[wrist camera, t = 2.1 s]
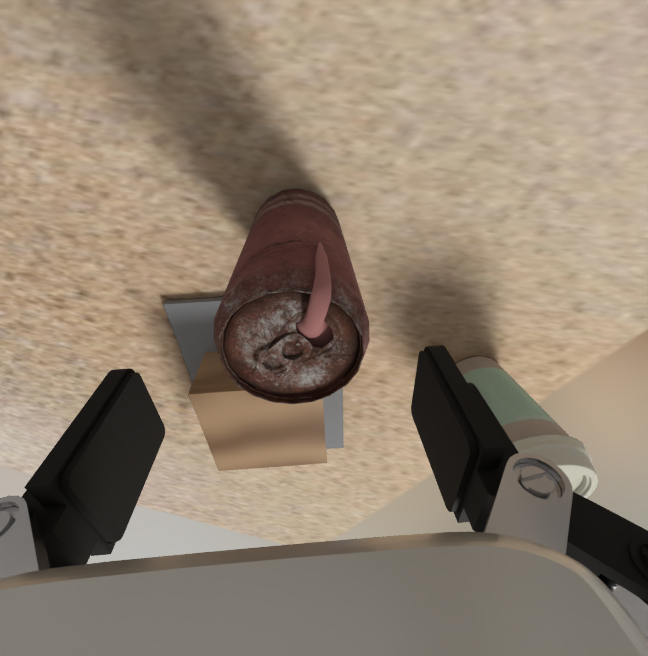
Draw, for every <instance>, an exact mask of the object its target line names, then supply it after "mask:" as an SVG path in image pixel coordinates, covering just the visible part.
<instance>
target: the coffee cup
mask: <svg viewBox="0 0 648 656" xmlns="http://www.w3.org/2000/svg"><path fill="white" fill-rule="evenodd" d="M456 365H457V367H458V369H459V370H460V372H461V374H462V375H463V377H464V378H465V380H466V382H467V383H469V382H471V383H473V384H474V385H475V386H476V387H477V389H478V390H479V392H480V393H481V395H482V396H483V398H484V399H485V401H486V403H487V404H488V406H489V407H490V409H491V410H492V412H493V413H494V415H495V416H496V418H497V420H498V421H499V423H500V424H501V426H502V427H503V429H504V430H505V432H506V434H507V435H508V437H509V438H510V440H511V441H512V443H513V444H514V446H515V447H516V449H517V451H518V452H519V453H533V454H536V455H539V456H542V457H544V458H546V459H548V460H550V461H551V462H553V463H554V464H556V465H557V466H558V467H559V468H560V469H562V471H563V472H564V473H565V474H566V475H567V477H568V478H569V480H570V483H571V485H572V490H573V492H575V493H577V494H579V495H581V496H583V497H585V498H587V497H588V496H589V495H590V494H591V493H592V492H593V491H594V489H595V488H596V486H597V483H598V477H597V474H596V472H595V470H594V468H593V465H592V458H591V456H590V454H589V453H588V452H587V449H586V447H585V446H584V444H583V443H582V442H581V441H579V440H578V439H575V438H573V437H570V436H569V435H568V434H567V433H566V432H565V431H564V430H563V429H562V428H561V427H560V426H559V425H558V424H557V423H556V422H555V421H554V420H553V419H552V418H551V417H550V416H549V415H548V414H547V413H546V412H545V411H544V410H543V409H542V408H541V407H540V406H539V405H538V404H537V403H536V402H535V401H534V400H533V399H532V398H531V397H530V396H529V395H528V393H527V392H526V391H525V390H524V389H523V388H522V387H521V386H520V385H519V384H518V383H517V382H516V381H515V380H514V379H513V378H512V377H511V376H510V375H509V374H508V373H507V372H506V371H505V370H504V369H503V368H502V367H501V366H500V365H499V364H498V363H497V362H496V361H494V360H493V359H491V358H488V357H481V356H479V357H471V358H467V359H464V360H462V361H460V362H458V363H456Z"/></svg>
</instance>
